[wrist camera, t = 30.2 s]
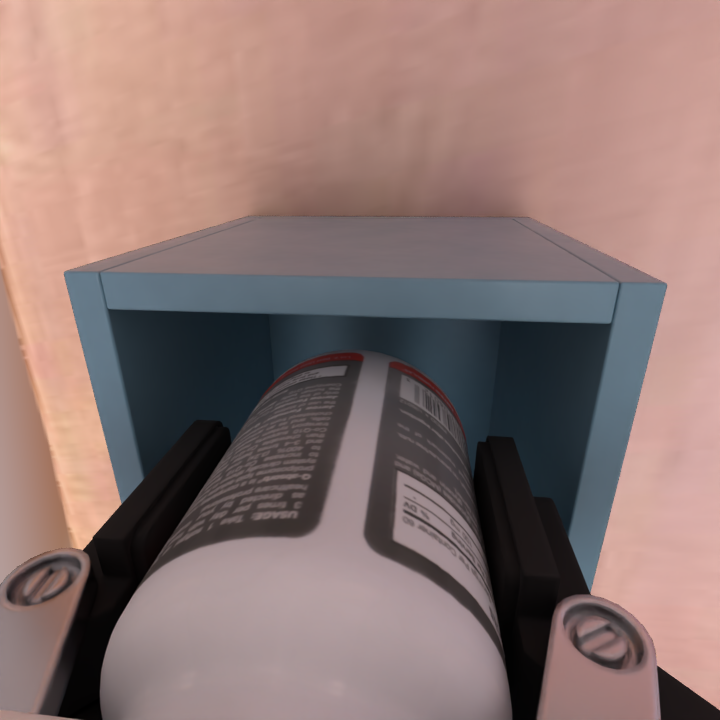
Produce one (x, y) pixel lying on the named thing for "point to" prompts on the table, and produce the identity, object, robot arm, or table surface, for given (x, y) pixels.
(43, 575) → the robot arm
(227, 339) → the chest
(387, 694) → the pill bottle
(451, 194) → the table surface
